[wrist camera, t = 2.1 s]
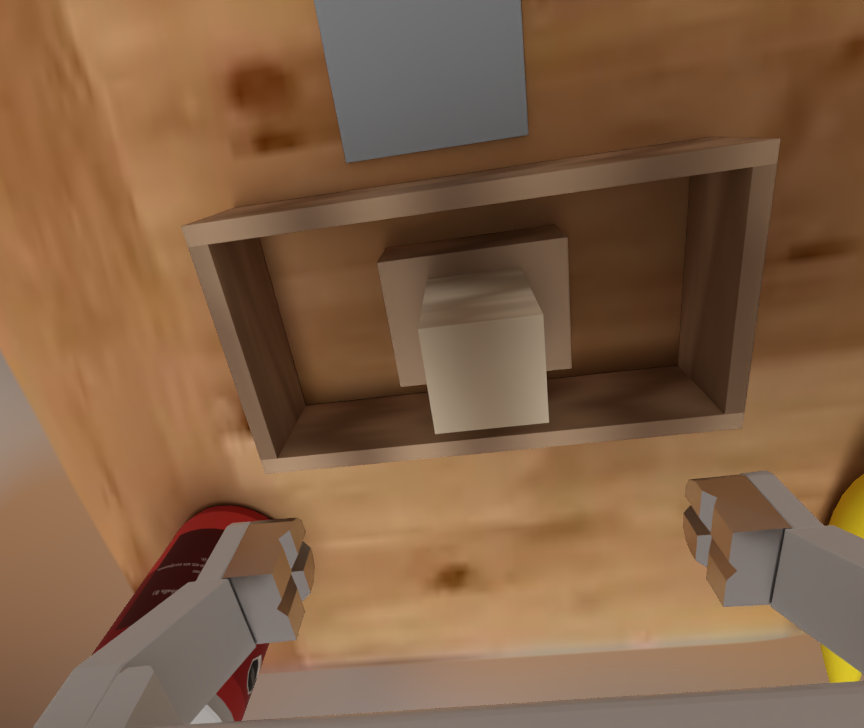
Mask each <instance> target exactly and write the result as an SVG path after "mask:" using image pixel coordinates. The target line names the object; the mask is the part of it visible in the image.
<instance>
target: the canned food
mask: <svg viewBox="0 0 864 728" xmlns="http://www.w3.org/2000/svg"><path fill="white" fill-rule="evenodd" d="M260 520H270V519H269V518H267V517H266V516H264V515H262V514H260V513H258V512H256V511H253V510H250V509H247V508H244V507H238V506H216V507H211V508H208V509H206V510H203V511H201V512H199V513H198V514H197V515H195V516H194V517H193V518H191V519H190V520H188V521H187V522H186V523H184V525H183V526H182V527H181V528H180V529H179V531H178V532H177V534H176V535H175V536H174V538H173V539H172V541H171V542H170V544H169V545H168V546H167V548H166V549H165V551H164V552H163V554H162V555H161V556H160V558H159V559H158V561H157V562H156V564H155V565H154V566H153V568H152V569H151V571H150V572H149V574H148V575H147V576H146V578H145V579H144V581H143V582H142V584H141V585H140V586H139V588H138V589H137V591H136V592H135V594H134V595H133V597H132V598H131V599H130V601H129V602H128V604H127V605H126V607H125V608H124V609H123V611H122V612H121V614H120V615H119V617H118V618H117V619H116V621H115V622H114V624H113V625H112V627H111V628H110V630H109V631H108V632H107V634H106V635H105V637H104V638H103V640H102V641H101V642H100V644H99V645H98V647H97V648H96V649H95V651H94V652H93V654H94V653H96V652H97V651H98V650H100V649H101V648H102V647H104V646H105V645H106V644H108V643H109V642H110V641H112V640H113V639H114V638H116V637H117V636H118V635H120V634H121V633H122V632H124V631H125V630H126V629H127V628H129V627H130V626H131V625H133V624H134V623H135V622H137V621H138V620H139V619H141V618H142V617H143V616H145V615H146V614H147V613H149V612H150V611H151V610H153V609H154V608H155V607H157V606H158V605H159V604H160V603H162V602H163V601H164V600H166V599H167V598H168V597H170V596H171V595H172V594H174V593H175V592H176V591H178V590H179V589H180V588H182V587H183V586H184V585H186V584H187V583H188V582H195V581H196V580H197V578H198V576H199V574H200V573H201V571H202V569H203V567H204V566H205V564H206V562H207V560H208V559H209V557H210V555H211V553H212V552H213V550H214V548H215V546H216V545H217V543H218V541H219V539H220V537H221V536H222V534H223V532H224V530H225V529H226V527H227V526H229V525H230V524H232V523H239V522H254V521H260ZM255 645H256V647H255V649H254V650H253V651H252V652H251V653H250V654H249V656H248V657H247V658H246V659H245V660H244V661H243V663H242V664H241V665H240V666H239V667H238V668H237V670H236V671H235V672H234V673H233V674H232V675H231V677H230V678H229V679H228V680H227V681H226V682H225V684H224V685H223V686H222V687H221V688H220V689H219V690H218V692H217V693H216V694H215V695H214V696H213V697H212V699H211V700H210V701H209V702H208V703H207V704H206V706H205V707H204V708H203V709H202V710H201V711H200V713H199V714H198V715H197V716H196V717H195V718H194V720H193V721H192V722H191V723H190V724H203V723H218V722H234V721H242V718H243V716H244V713H245V710H246V707H247V704H248V701H249V699H250V696H251V693H252V690H253V688H254V685H255V682H256V679H257V676H258V674H259V671H260V668H261V665H262V662H263V659H264V657H265V654H266V651H267V648H268V645H269V643H263V644H255ZM93 654H92V655H93ZM92 655H91V656H92Z"/></svg>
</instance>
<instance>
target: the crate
mask: <svg viewBox="0 0 864 728" xmlns="http://www.w3.org/2000/svg"><path fill="white" fill-rule="evenodd" d="M780 139H781V138H739V137H708V138H702V139H695V140H688V141H681V142H675V143H668V144H661V145H655V146H648V147H641V148H634V149H628V150H621V151H614V152H607V153H601V154H594V155H587V156H581V157H574V158H567V159H560V160H554V161H547V162H540V163H534V164H527V165H520V166H513V167H507V168H500V169H493V170H486V171H480V172H473V173H466V174H460V175H453V176H446V177H439V178H433V179H426V180H419V181H413V182H406V183H399V184H392V185H386V186H379V187H372V188H365V189H359V190H352V191H345V192H339V193H332V194H325V195H318V196H312V197H305V198H298V199H292V200H285V201H278V202H271V203H265V204H258V205H251V206H245V207H238V208H232V209H229V210H227V211H224V212H221V213H218V214H215V215H212V216H209V217H206V218H203V219H201V220H198V221H195V222H192V223H189V224H186V225H183V226H181V228H182V231H183V234H184V237H185V240H186V243H187V246H188V249H189V252H190V255H191V257H192V260H193V263H194V266H195V269H196V272H197V275H198V278H199V281H200V284H201V287H202V290H203V293H204V295H205V298H206V301H207V304H208V307H209V310H210V313H211V316H212V319H213V322H214V325H215V328H216V331H217V334H218V336H219V339H220V342H221V345H222V348H223V351H224V354H225V357H226V360H227V363H228V366H229V369H230V372H231V374H232V377H233V380H234V383H235V386H236V389H237V392H238V395H239V398H240V401H241V404H242V407H243V410H244V413H245V415H246V418H247V421H248V424H249V427H250V430H251V433H252V436H253V439H254V442H255V445H256V448H257V451H258V453H259V456H260V459H261V462H262V465H263V468H264V471H265V474H271V473H282V472H292V471H302V470H313V469H323V468H334V467H344V466H355V465H365V464H376V463H386V462H397V461H407V460H418V459H428V458H438V457H449V456H459V455H470V454H480V453H491V452H501V451H512V450H522V449H533V448H543V447H554V446H564V445H574V444H585V443H595V442H606V441H616V440H627V439H637V438H648V437H658V436H669V435H679V434H690V433H700V432H710V431H721V430H731V429H742V428H743V420H744V412H745V405H746V397H747V390H748V382H749V374H750V367H751V359H752V352H753V344H754V336H755V329H756V321H757V314H758V306H759V298H760V291H761V283H762V275H763V268H764V260H765V253H766V245H767V237H768V230H769V222H770V215H771V207H772V199H773V192H774V184H775V177H776V169H777V161H778V154H779V146H780ZM685 176H690V187H689V202H688V217H687V232H686V248H685V263H684V278H683V293H682V309H681V324H680V339H679V354H678V365H676V366H667V367H658V368H649V369H639V370H630V371H621V372H612V373H602V374H593V375H584V376H575V377H565V378H556V379H547V393H548V411H549V423H540V424H530V425H520V426H510V427H500V428H490V429H480V430H470V431H460V432H450V433H440V434H435V430H434V424H433V418H432V412H431V406H430V400H429V394H428V392H427V393H418V394H408V395H399V396H390V397H381V398H371V399H362V400H353V401H344V402H334V403H325V404H316V405H307V406H306V405H305V401H304V397H303V394H302V390H301V387H300V383H299V380H298V376H297V373H296V369H295V365H294V362H293V358H292V355H291V351H290V348H289V344H288V341H287V337H286V334H285V330H284V326H283V323H282V319H281V316H280V312H279V309H278V305H277V302H276V298H275V295H274V291H273V287H272V284H271V280H270V277H269V273H268V270H267V266H266V263H265V259H264V256H263V252H262V248H261V245H260V241H259V238H258V237H264V236H271V235H278V234H285V233H292V232H299V231H306V230H313V229H320V228H327V227H334V226H341V225H348V224H355V223H362V222H369V221H376V220H383V219H390V218H397V217H404V216H411V215H418V214H425V213H433V212H440V211H447V210H454V209H461V208H468V207H475V206H482V205H489V204H496V203H503V202H510V201H517V200H524V199H531V198H538V197H545V196H552V195H559V194H566V193H573V192H580V191H587V190H594V189H601V188H608V187H615V186H622V185H629V184H636V183H643V182H650V181H657V180H664V179H671V178H678V177H685ZM377 265H378V270H379V276H380V281H381V286H382V292H383V297H384V302H385V307H386V313H387V318H388V323H389V328H390V334H391V339H392V344H393V350H394V355H395V360H396V365H397V371H398V376H399V381H400V387H406V386H415V385H424V384H427V382H426V376H425V370H424V364H423V357H422V351H421V345H420V339H419V333H418V326H419V320H420V315H421V309H422V304H423V298H424V293H425V287H426V282H427V280H428V279H435V278H443V277H451V276H458V275H466V274H474V273H482V272H489V271H497V270H505V269H512V268H521V270H522V272H523V274H524V276H525V278H526V280H527V282H528V284H529V286H530V288H531V290H532V292H533V294H534V296H535V298H536V300H537V302H538V304H539V306H540V309H541V311H542V313H543V319H544V337H545V356H546V371H552V370H561V369H570V368H572V364H571V331H570V299H569V266H568V237H567V236H566V235H565V234H564V233H562V232H561V231H560V230H559V229H558V228H557V227H556V226H555V225H551V226H543V227H536V228H529V229H522V230H514V231H507V232H500V233H492V234H485V235H478V236H470V237H463V238H456V239H448V240H441V241H434V242H426V243H419V244H412V245H405V246H397V247H390V248H385V250H384V252H383V254H382V255H381V257H380V259H379V260H378V262H377Z"/></svg>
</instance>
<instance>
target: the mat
mask: <svg viewBox="0 0 864 728" xmlns="http://www.w3.org/2000/svg"><path fill="white" fill-rule="evenodd" d="M314 3H315V8H316V13H317V18H318V23H319V28H320V33H321V38H322V43H323V49H324V54H325V59H326V64H327V69H328V74H329V79H330V84H331V89H332V94H333V99H334V104H335V109H336V114H337V119H338V124H339V129H340V134H341V139H342V144H343V149H344V154H345V159H346V163H349V162H356V161H362V160H369V159H375V158H382V157H388V156H395V155H401V154H407V153H414V152H420V151H427V150H433V149H440V148H446V147H453V146H459V145H466V144H472V143H479V142H485V141H492V140H498V139H505V138H511V137H518V136H524V135H528V118H527V101H526V84H525V66H524V49H523V32H522V14H521V0H314Z"/></svg>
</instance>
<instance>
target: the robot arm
mask: <svg viewBox="0 0 864 728" xmlns="http://www.w3.org/2000/svg"><path fill="white" fill-rule="evenodd" d="M685 497H686V498H687V500H688V501H689V503H690V504H691V505H690V506H689V508H688V509H687V510H686V511H685V512H684V514H683V529H684V534H685V539H686V542H687V545H688V547H689V550H690V552H691V553H692V555H693V557H694V559H695V560H696V561H697V562H699V563H701V564H702V565H704V566H705V567H707V574H706V579H707V581H708V582H709V584H710V586H711V587H712V589H713V591H714V592H715V594H716V596H717V597H718V599H719V601H720V602H721V604H722V606H723V607H732V606H752V605H771V607H772V608H773V609H775V610H776V611H777V612H779V613H780V614H781V615H783V616H784V617H786V618H787V619H788V620H790V621H791V622H792V623H794V624H795V625H796V626H798V627H799V628H801V629H802V630H803V631H805V632H806V633H807V634H809V635H810V636H812V637H813V638H814V639H816V640H817V641H818V642H820V643H821V644H822V645H824V646H825V647H827V648H828V649H829V650H831V651H832V652H833V653H835V654H836V655H837V656H839V657H840V658H842V659H843V660H844V661H846V662H847V663H848V664H850V665H851V666H853V667H854V668H855V669H857V670H858V671H859V672H861V673H862V674H863V675H864V539H863V538H861V537H859V536H856V535H854V534H852V533H849V532H847V531H845V530H843V529H840V528H838V527H836V526H834V525H828V526H824V525H823V524H822V523H821V522H820V521H819V520H818V519H817V518H816V517H815V516H814V515H813V514H812V513H811V512H810V511H809V510H808V509H807V508H806V507H805V506H804V505H803V504H802V503H801V502H800V501H799V500H798V499H797V498H796V497H795V496H794V495H793V494H792V493H791V492H790V491H789V490H788V489H787V488H786V487H785V486H784V484H783V483H782V482H781V481H780V480H779V479H778V478H777V477H776V476H775V475H774V474H772V473H770V472H768V471H759V472H750V473H742V474H739V475H729V476H720V477H710V478H700V479H691V480H688V482H687V484H686V489H685ZM305 532H306V531H305V529H304V526H303V523H302V520H300V519H298V518H287V519H274V520H260V521H254V522H239V523H232V524H230V525H229V526H227V527H226V529H225V530H224V532H223V534H222V536H221V537H220V539H219V541H218V543H217V545H216V546H215V548H214V550H213V552H212V553H211V555H210V557H209V559H208V560H207V562H206V564H205V566H204V567H203V569H202V571H201V573H200V574H199V576H198V578H197V580H196V581H195V582H188V583H187V584H186V585H184V586H183V587H182V588H180V589H179V590H178V591H176V592H175V593H174V594H172V595H171V596H170V597H168V598H167V599H166V600H164V601H163V602H162V603H160V604H159V605H158V606H157V607H155V608H154V609H153V610H151V611H150V612H149V613H147V614H146V615H145V616H143V617H142V618H141V619H139V620H138V621H137V622H135V623H134V624H133V625H131V626H130V627H129V628H127V629H126V630H125V631H124V632H122V633H121V634H120V635H118V636H117V637H116V638H114V639H113V640H112V641H110V642H109V643H108V644H106V645H105V646H104V647H102V648H101V649H100V650H98V651H97V652H96V653H94V654H93V655H92V656H91V657H89V658H88V659H87V660H85V661H84V662H83V663H81V664H80V665H79V666H77V667H76V668H75V669H74V670H73V671H72V673H71V674H70V675H69V677H68V679H67V680H66V681H65V683H64V684H63V685H62V687H61V688H60V690H59V691H58V693H57V694H56V695H55V697H54V698H53V700H52V701H51V703H50V704H49V705H48V707H47V708H46V710H45V711H44V712H43V714H42V715H41V717H40V718H39V720H38V721H37V722H36V724H35V725H34V727H33V728H864V681H854V682H838V683H823V684H807V685H791V686H776V687H761V688H744V689H731V690H713V691H698V692H682V693H668V694H652V695H636V696H621V697H605V698H590V699H574V700H559V701H543V702H528V703H512V704H497V705H481V706H466V707H450V708H435V709H419V710H404V711H388V712H373V713H357V714H342V715H326V716H311V717H295V718H280V719H264V720H249V721H234V722H218V723H203V724H190V723H191V722H192V721H193V720H194V718H195V717H196V716H197V715H198V714H199V713H200V711H201V710H202V709H203V708H204V707H205V706H206V704H207V703H208V702H209V701H210V700H211V699H212V697H213V696H214V695H215V694H216V693H217V692H218V690H219V689H220V688H221V687H222V686H223V685H224V684H225V682H226V681H227V680H228V679H229V678H230V677H231V675H232V674H233V673H234V672H235V671H236V670H237V668H238V667H239V666H240V665H241V664H242V663H243V661H244V660H245V659H246V658H247V657H248V656H249V654H250V653H251V652H252V651H253V650H254V649H255V647H256V645H255V644H263V643H273V642H282V641H291V640H297V637H298V633H299V630H300V627H301V623H302V620H303V617H304V613H305V609H304V606H303V603H302V601H303V600H304V599H305V598H306V597H307V596H308V595H309V594H310V593H311V589H312V586H313V582H314V570H315V566H314V558H313V554H312V550H311V548H310V547H309V546H308V545H307V544H305V543H304V542H303V538H304V535H305Z"/></svg>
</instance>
